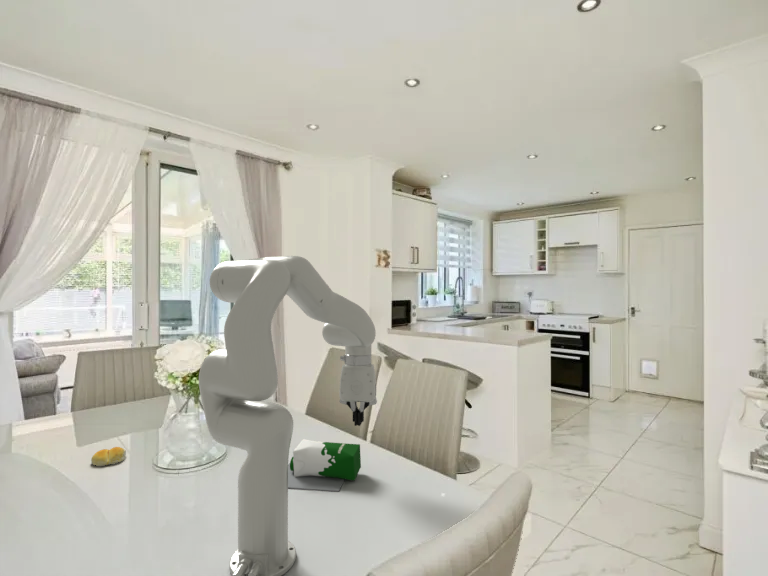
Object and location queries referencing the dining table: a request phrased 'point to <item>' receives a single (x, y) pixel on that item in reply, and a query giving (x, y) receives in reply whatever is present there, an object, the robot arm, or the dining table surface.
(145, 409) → the dining table surface
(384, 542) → the dining table surface
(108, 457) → the bread roll
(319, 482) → the placemat
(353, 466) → the white and green box
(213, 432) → the robot arm
